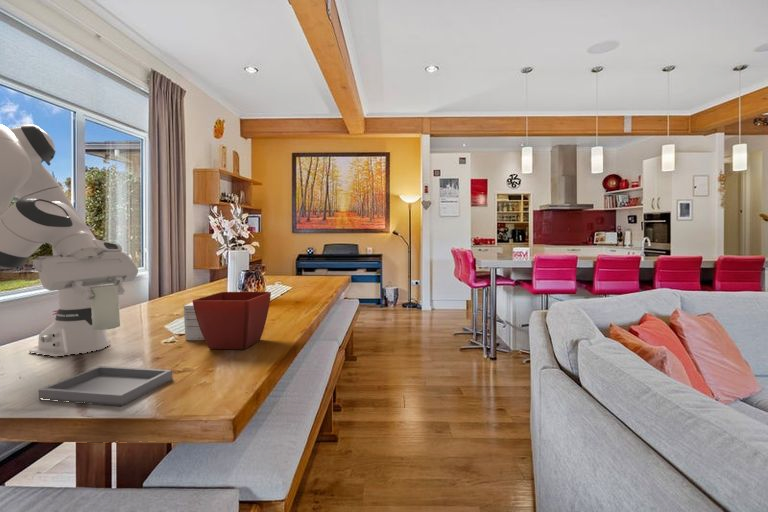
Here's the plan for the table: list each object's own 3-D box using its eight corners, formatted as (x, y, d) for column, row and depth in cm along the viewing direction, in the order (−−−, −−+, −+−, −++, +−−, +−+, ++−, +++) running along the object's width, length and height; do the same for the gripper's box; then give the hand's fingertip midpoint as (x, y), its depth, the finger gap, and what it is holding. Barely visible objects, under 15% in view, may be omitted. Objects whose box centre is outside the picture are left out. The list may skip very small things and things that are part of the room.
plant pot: (223, 336, 144) (221, 291, 143) (273, 337, 142) (272, 291, 141) (192, 352, 126) (190, 300, 124) (249, 353, 123) (247, 300, 122)
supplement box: (192, 335, 146) (191, 301, 146) (213, 334, 147) (211, 301, 146) (184, 340, 139) (182, 305, 138) (206, 340, 140) (204, 305, 139)
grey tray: (39, 400, 90) (38, 389, 90) (100, 375, 106) (99, 365, 106) (121, 406, 87) (121, 395, 86) (172, 379, 102) (172, 370, 102)
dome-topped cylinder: (86, 329, 93) (84, 288, 92) (106, 324, 98) (104, 284, 98) (106, 330, 92) (104, 288, 92) (125, 324, 98) (123, 285, 97)
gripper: (33, 247, 88) (60, 293, 84) (126, 244, 106) (151, 281, 103) (24, 266, 90) (50, 312, 86) (117, 260, 108) (141, 297, 105)
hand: (106, 295), depth 95 cm, fingers closed on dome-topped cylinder, 5 cm apart
